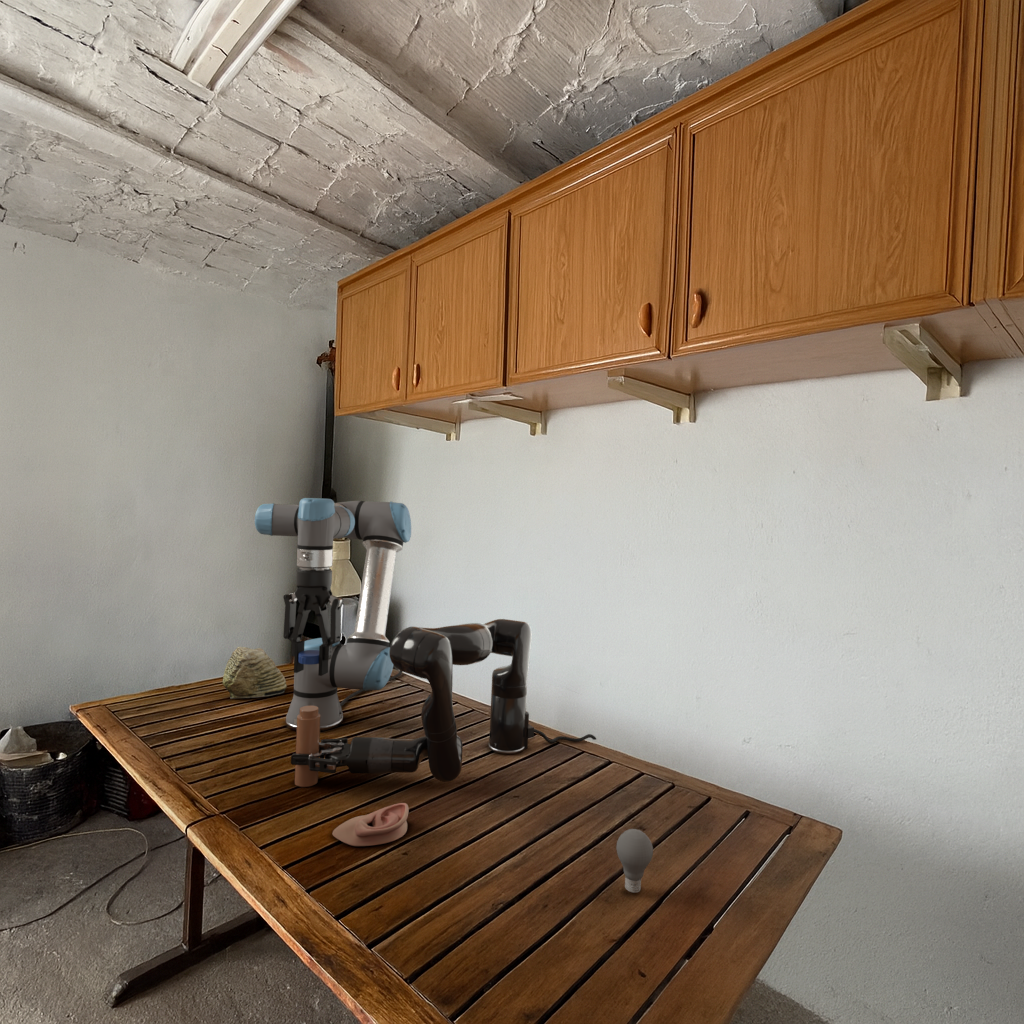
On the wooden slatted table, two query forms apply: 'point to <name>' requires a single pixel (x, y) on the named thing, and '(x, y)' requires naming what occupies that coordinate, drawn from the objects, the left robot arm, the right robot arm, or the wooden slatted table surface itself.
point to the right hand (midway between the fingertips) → (295, 754)
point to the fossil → (252, 674)
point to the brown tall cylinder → (307, 743)
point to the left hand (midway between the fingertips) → (310, 672)
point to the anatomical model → (374, 826)
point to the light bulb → (634, 857)
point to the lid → (309, 657)
